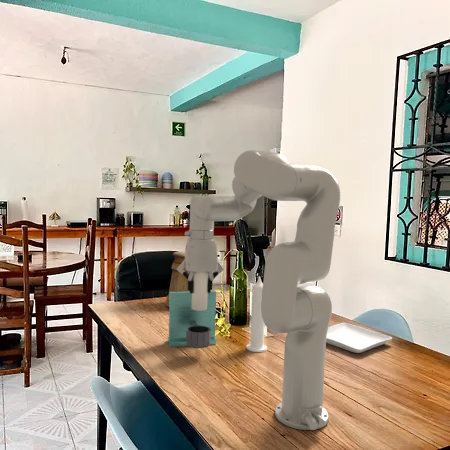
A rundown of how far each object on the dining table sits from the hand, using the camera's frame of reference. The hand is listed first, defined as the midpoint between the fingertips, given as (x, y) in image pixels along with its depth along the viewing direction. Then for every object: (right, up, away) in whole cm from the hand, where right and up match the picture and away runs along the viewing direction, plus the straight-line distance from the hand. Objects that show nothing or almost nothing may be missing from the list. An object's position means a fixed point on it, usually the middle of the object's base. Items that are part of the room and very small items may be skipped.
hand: (199, 291), depth 139 cm
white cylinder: (0, -5, 0) cm, 5 cm away
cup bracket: (-2, -21, +8) cm, 22 cm away
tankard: (-8, -16, +64) cm, 66 cm away
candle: (+19, -21, +10) cm, 30 cm away
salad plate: (+54, -22, +20) cm, 61 cm away
